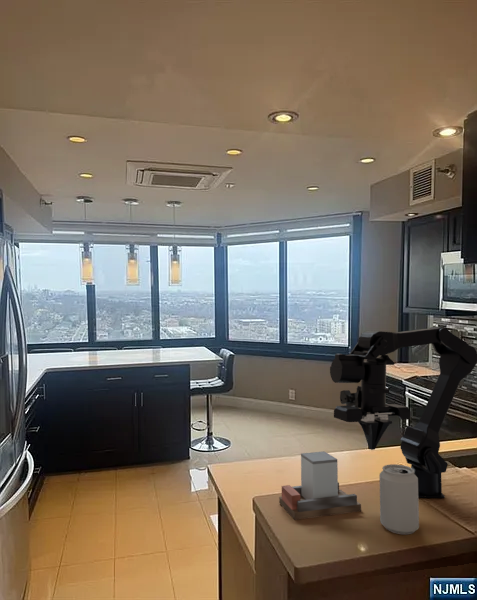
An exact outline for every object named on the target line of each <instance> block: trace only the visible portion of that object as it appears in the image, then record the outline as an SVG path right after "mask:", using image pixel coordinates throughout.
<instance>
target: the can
mask: <svg viewBox="0 0 477 600" xmlns="http://www.w3.org/2000/svg"><path fill="white" fill-rule="evenodd" d="M379 513H380V514H379V515H380V516H379V517H380V518H379V519H380V520H379V521H380V524H381V525H382V526H383V527H384V528H385V529H386V530H387V531H389V532H391V533H394V534H399V535H412V534H414V533H415V532H416V531H417V530H419V528H420V515H419V513H420V512H419V497H418V478H417V476H416V475H415V474H414V470H413V469H412V468H411V466H407V465H404V464H403V465H402V464H398V463H397V464H394V463H393V464H392V463H391V464H385V465H383V466H382V470H381V472H379Z"/></svg>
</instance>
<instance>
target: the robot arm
mask: <svg viewBox="0 0 477 600" xmlns="http://www.w3.org/2000/svg"><path fill="white" fill-rule="evenodd" d="M425 345H432V349H433V350H434V352H435V353H437V355H439V360H438V366H439V376H438V378H437V380H436V382H435V384H434V387H433V389H432V392H431V393H430V396H429V399H428V401H427V403H426V405H425V407H424V410H423V412H422V414H421V416H420V419H419V421H418V422H417V424H416V425H414V426H413V427H412V426H409V425H407V426H406V428H405V430H404V433H403V435H402V437H401V438H400V439H399V440H400V442H401V443H400V447H399V449H400V451H401V453H402V455H403V457H404V459H405V461H406V463H407V464H409V465H410V468H412V469H413V470H414V474H415V475H416V476H417V478H418V498H423V499H424V498H426V499H429V498H430V499H434V498H435V499H446V498H445V494H443V491H442V485H443V484H442V473H447V468H448V466H449V465H448V462H447V461H446V460H445V459H444V458H443V456H441V455H440V454H439V451H440V447H441V441H440V433H439V432H440V431H441V427H442V425H443V423H444V420H445V418H446V415H447V413H448V411H449V409H450V406H451V404H452V402H453V399H454V397H455V395H456V392H457V390H458V387H459V385H460V383H461V382H462V380H464V379H465V378H466V377H467V376H468V375H470V374H471V373H472V371H473V370H474V369H475V367H476V366H477V350H476V349H475V347H474V346H473V345H470V344H468V342H466V340H464V339H462V338H461V337H459V336H457V335H455V334H453V332H451V331H450V330H449V329H448V328H446V327H445V326H443V327H442V326H431V327H429V328H421V329H413V330H405V331H397V332H393V331H377V330H374V331H373V330H366V331H363V332H361V333H360V335H359V337H358V341H357V343H356V344H355V345H354V347H353V348H352V350H351V351H350V353H349V354H343V353H335V355H334V358H333V360H332V361H331V364H330V367H329V374H330V378H331V381H332V382H334V383H336V384H359V383H360V385H357V387H356V392H351V391H350V390H348V389H347V390H346V389H345V390H341V391H340V392H339V399H340V400H339V401H340V403H341V405H336V407H335V408H334V409H333V418H335V419H337V420H340V421H343V422H347V423H358V424H359V425H360V427H361V429H362V432H363V433H364V437H365V440H366V442H367V447H368V449H369V450H371V451H374V450H376V448H377V446H378V444H379V442H380V441H381V438H382V437H383V435H384V434H385V432H386V430H387V429H388V428H389V426H390V425H392V424H393V420H389V417H394V416H395V417H396V416H397V417H398V418H399V420H402V421H403V420H411V418H412V417H411V416H412V415H411V413H412V411H411V409H409V407H408V406H405V405H401V404H395V403H390V404H386V396H387V395H386V394H390V388H387V366H394V365H395V361H394V360H393V359H391V357H390V356H389V355H388V354H392V353H394V352H396V351H397V350H399V349H402V348H410V347H416V346H425ZM365 360H366V361H365Z"/></svg>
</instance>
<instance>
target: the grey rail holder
mask: <svg viewBox="0 0 477 600" xmlns="http://www.w3.org/2000/svg"><path fill="white" fill-rule="evenodd" d="M278 503H280V504H281V505H282V506H283V507H284V508H283V507H282V506H281V505H280V504H279V505H280V506H281V507H282V508H283V509H284V510H285V511H286V513H288V514H289V515H290V516H291V518H292V517H293V518H294V519H293V518H292V519H293V520H294V521H297V520H298V521H299V520H305V519H312V518H320V517H328V516H335V515H341V514H349V513H355V512H356V513H357V512H361V511H362V503H360V502H359V501H358V495H357V494H355V493H351V494H348V493H346V492H345V491H344V490H342V489H340V483H339V482H338V496H332V497H324V498H316V499H308V500H306V499H305V498H304V497H303V496H302V495H301V485H296V486H291V485H290V484H287V485H281V496H279V497H278Z"/></svg>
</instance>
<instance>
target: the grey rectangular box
mask: <svg viewBox="0 0 477 600" xmlns="http://www.w3.org/2000/svg"><path fill="white" fill-rule="evenodd" d="M338 472H339V471H338V459H337V458H336V457H334V456H333V455H331V454H330V453H328V452H326V451H313V452H301V453H300V478H301V479H300V480H301V481H300V482H301V483H300V484H301V485H300V486H301V495H302V496H303V497H304V498H305V499H306V500H308V499H316V498H324V497H332V496H338V483H339V481H338V478H339V475H338Z"/></svg>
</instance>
